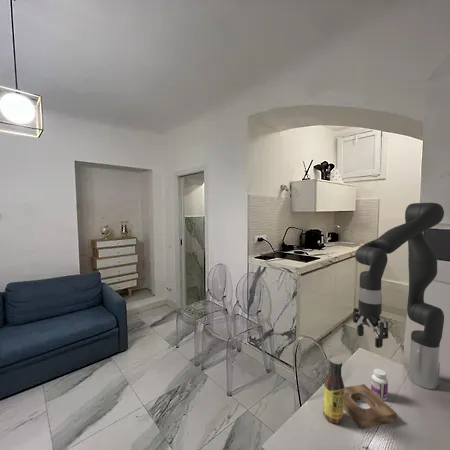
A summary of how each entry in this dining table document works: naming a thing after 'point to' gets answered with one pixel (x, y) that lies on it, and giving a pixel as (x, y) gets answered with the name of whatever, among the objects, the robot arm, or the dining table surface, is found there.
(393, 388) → the dining table surface
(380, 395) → the pill bottle
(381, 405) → the mount
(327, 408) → the sauce bottle
